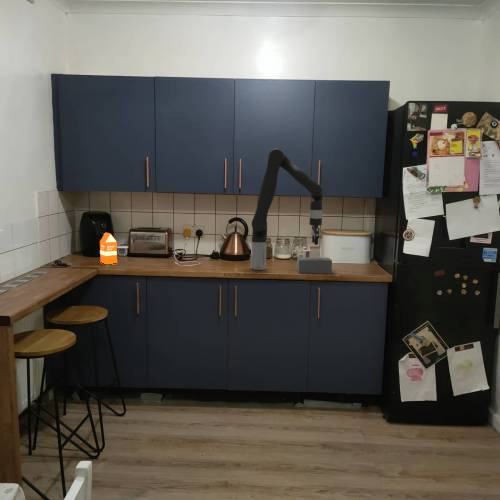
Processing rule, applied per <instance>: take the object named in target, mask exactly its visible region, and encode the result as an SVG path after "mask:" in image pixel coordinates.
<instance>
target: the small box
mask: <svg viewBox="0 0 500 500" xmlns="http://www.w3.org/2000/svg"><path fill="white" fill-rule="evenodd" d="M309 254H310V249H303V250H302V257H309Z"/></svg>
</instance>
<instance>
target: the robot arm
mask: <svg viewBox="0 0 500 500" xmlns="http://www.w3.org/2000/svg"><path fill="white" fill-rule="evenodd" d="M266 165H267V166H266V170H265V173H264V176H263V179H262V183H261V186H260V191H259V195H258V199H257V205H256V206H257V207H256V210H255V213H254V214H253V218H252V221H251V227H252V233H251V253H250V254H251V256H250V257H251V259H250V260H251V261H250V269H251V270H254V271H255V270H256V271H262V270H266V269H267V239H268V221H267V220H268V213H269V210H270V208H271V207H272V203H273V200H274V197H275V194H276V190H277V185H278V175H279V170H280V168H282V169H283V170H284V171H285V172H287V173H288V174H289V175H290V176H291V177H292V178H293V179H294V180H295V181H296V182H297V183H298V184H300V185H301V186H302V187H304V188H305V189H306V190H307V191H308V192H309V193H310V196H311V197H310V203H309V207H310V208H309V220H308V221H309V226H311V242H312V244H314V246H318V245H319V239H320V227H319V226H322V225H323V191H324V190H323V187H322V185H321V184H320V183H319V184H318V182H316V181H315V180H313V179H312V177H311V176H309V174H307V173H306V172H305V171H304V170H302V169H301V168H300V167H299V166H298V165H296V164H295V163H293V161H291V160H290V158H289V157H287V156H286V154H285V152H284V151H283V150H282V149H280V148H273V149H272V150H271V151H270V152H269V153H268V159H267V164H266Z"/></svg>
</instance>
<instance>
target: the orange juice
mask: <svg viewBox="0 0 500 500" xmlns="http://www.w3.org/2000/svg"><path fill="white" fill-rule="evenodd" d="M117 244H118V243H117V240H116V239H115V238H114V236H113V235H112V234H111V233H109V232H105V233H104V234H103V235H102V238H101V239H100V240H99V248H100V249H99V254H100V263H101V262H102V263H104V264H112V265H114V264H113V263H117V264H118V251H117V250H118V249H117V247H118V245H117ZM102 263H101V264H102ZM104 264H103V265H104Z"/></svg>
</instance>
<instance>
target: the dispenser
mask: <svg viewBox="0 0 500 500" xmlns="http://www.w3.org/2000/svg"><path fill="white" fill-rule="evenodd" d="M332 267H333V260H332V259H331V258H330V257H319V258H309V257H303V256H302V257H299V256H298V257H296V271H297V272H298V273H299V274H332V272H333V271H332V269H333V268H332Z"/></svg>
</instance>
